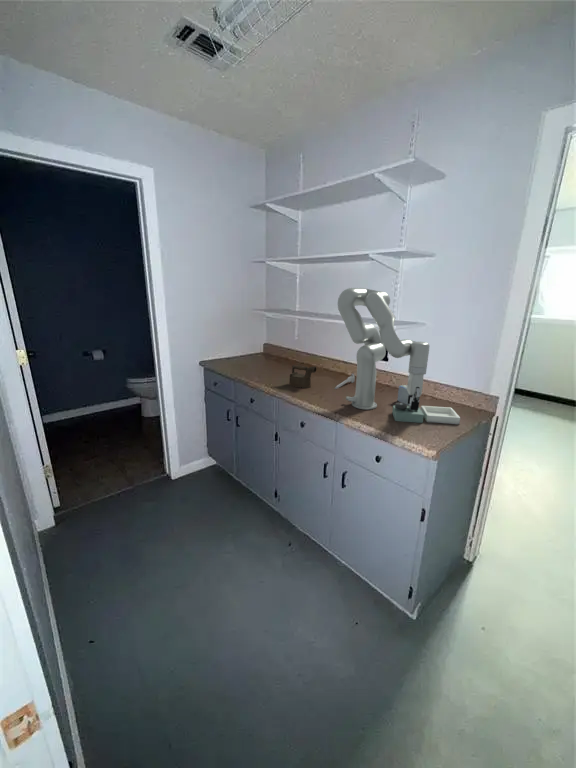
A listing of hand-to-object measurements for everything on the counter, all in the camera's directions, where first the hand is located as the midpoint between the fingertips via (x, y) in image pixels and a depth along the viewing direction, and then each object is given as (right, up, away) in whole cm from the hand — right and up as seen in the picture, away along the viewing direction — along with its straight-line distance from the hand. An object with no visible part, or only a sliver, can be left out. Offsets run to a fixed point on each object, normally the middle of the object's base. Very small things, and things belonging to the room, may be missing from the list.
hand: (412, 406), depth 153 cm
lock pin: (0, -6, +2) cm, 6 cm away
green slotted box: (-2, -5, +2) cm, 6 cm away
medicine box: (+5, 0, +22) cm, 23 cm away
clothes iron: (-49, +9, +49) cm, 70 cm away
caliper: (-23, +9, +52) cm, 57 cm away
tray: (+13, -5, +2) cm, 15 cm away
